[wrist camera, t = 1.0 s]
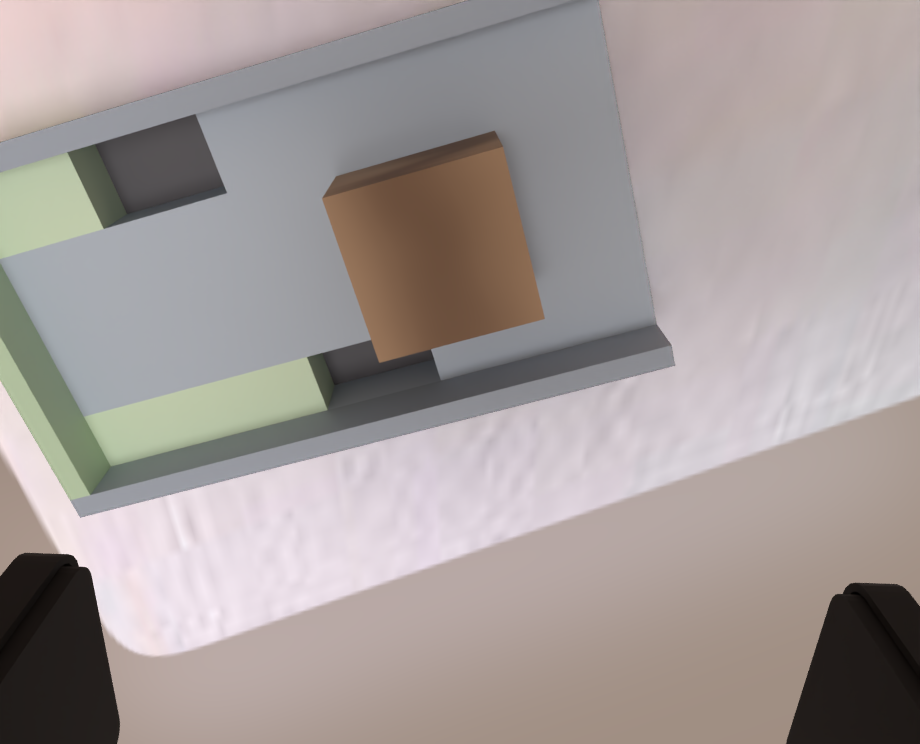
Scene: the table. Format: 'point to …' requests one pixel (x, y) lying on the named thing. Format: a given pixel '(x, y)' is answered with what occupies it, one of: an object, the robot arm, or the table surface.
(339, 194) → the block
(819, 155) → the table surface
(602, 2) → the table surface
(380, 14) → the table surface
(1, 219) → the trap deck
